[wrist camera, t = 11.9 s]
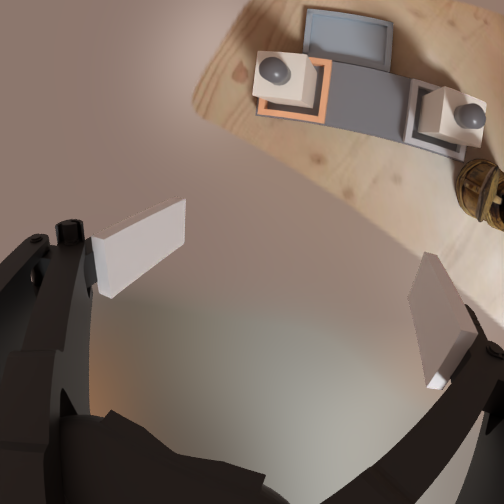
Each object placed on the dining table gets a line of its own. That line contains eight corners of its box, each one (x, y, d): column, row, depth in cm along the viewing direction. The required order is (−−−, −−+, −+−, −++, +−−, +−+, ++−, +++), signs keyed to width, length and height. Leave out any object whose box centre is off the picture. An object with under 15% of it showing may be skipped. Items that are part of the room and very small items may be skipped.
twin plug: (455, 107, 28) (498, 100, 17) (450, 143, 30) (492, 150, 19) (422, 96, 30) (454, 81, 18) (417, 132, 32) (448, 133, 20)
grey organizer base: (465, 102, 30) (477, 99, 26) (456, 160, 33) (467, 164, 29) (268, 58, 36) (259, 51, 32) (261, 116, 40) (252, 114, 36)
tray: (392, 25, 29) (393, 22, 27) (388, 74, 32) (389, 72, 31) (308, 12, 31) (307, 8, 30) (303, 58, 35) (302, 56, 34)
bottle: (317, 73, 33) (302, 46, 21) (312, 108, 35) (296, 97, 24) (279, 68, 34) (248, 43, 23) (275, 103, 36) (242, 92, 25)
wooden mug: (440, 136, 33) (496, 142, 17) (510, 173, 31) (579, 203, 15) (422, 193, 37) (465, 235, 21) (492, 226, 35) (549, 279, 19)
